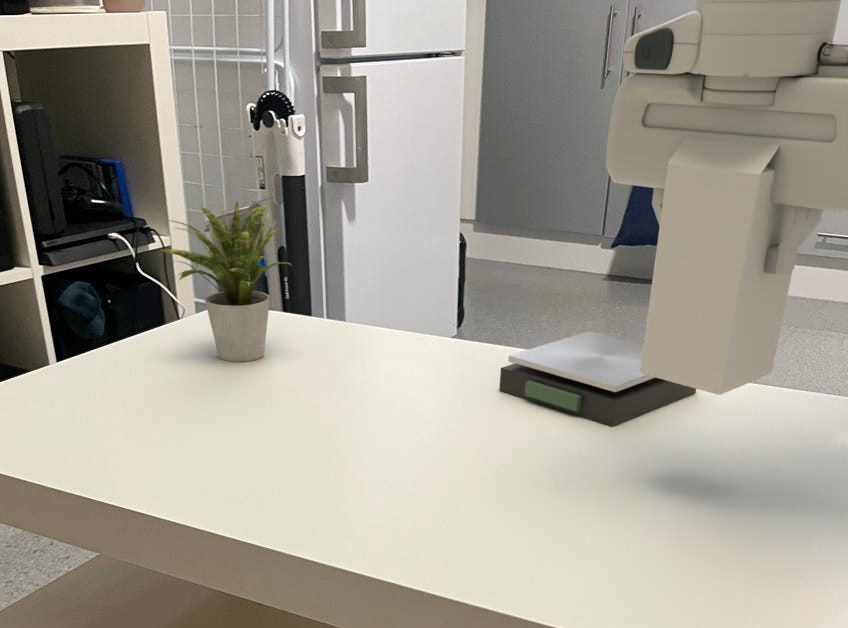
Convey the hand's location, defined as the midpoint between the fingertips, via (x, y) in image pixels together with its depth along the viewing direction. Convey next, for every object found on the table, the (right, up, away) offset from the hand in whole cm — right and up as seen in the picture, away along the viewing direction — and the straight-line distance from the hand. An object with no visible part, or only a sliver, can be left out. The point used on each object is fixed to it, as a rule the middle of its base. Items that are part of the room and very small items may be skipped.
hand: (723, 263), depth 74 cm
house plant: (-40, +5, +42) cm, 58 cm away
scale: (-3, -2, +29) cm, 29 cm away
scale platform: (-3, 0, +28) cm, 28 cm away
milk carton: (0, -7, +5) cm, 9 cm away
